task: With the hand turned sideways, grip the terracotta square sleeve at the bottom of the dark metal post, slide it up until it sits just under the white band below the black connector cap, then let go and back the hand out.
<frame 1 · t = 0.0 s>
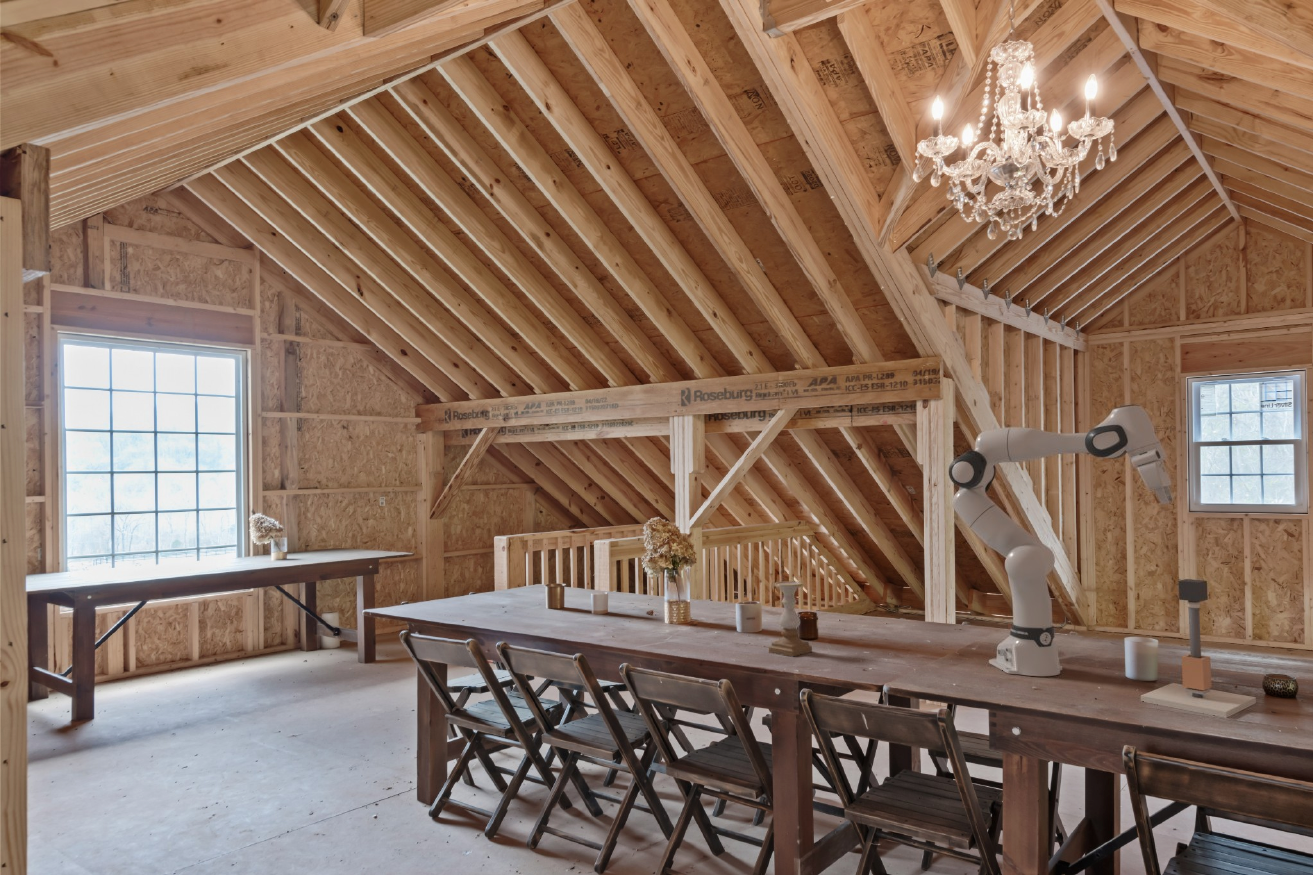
hand: (1168, 503, 239), 52 cm above the table, tool tilted 20°, fingers open, 8 cm apart
sleeve: (1196, 671, 224), point 8 cm above the table, slide at 0.0 cm
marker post: (1197, 702, 224), on the table
candle holder: (790, 652, 294), on the table
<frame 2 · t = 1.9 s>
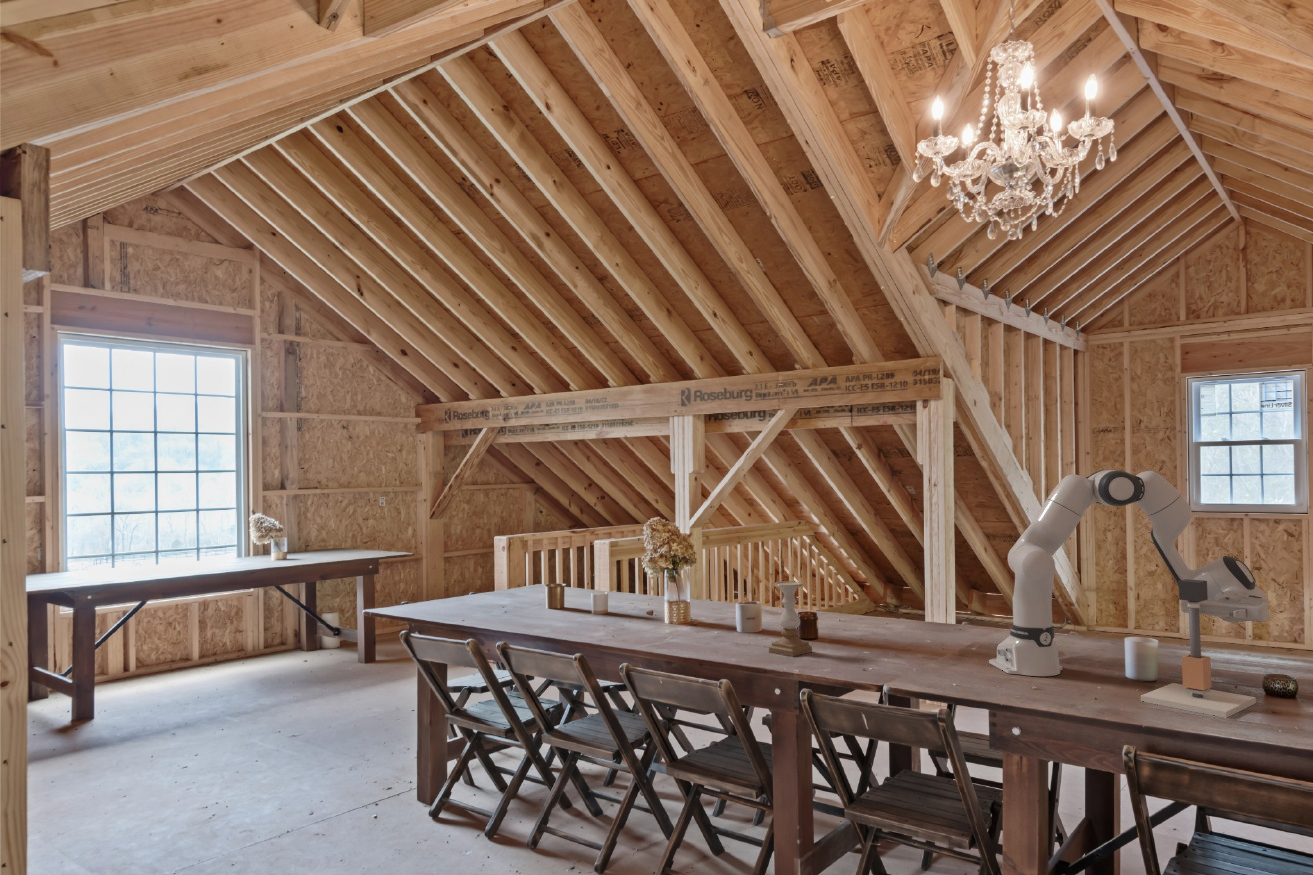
hand: (1212, 612, 232), 22 cm above the table, tool horizontal, fingers open, 8 cm apart
nothing on the table moved.
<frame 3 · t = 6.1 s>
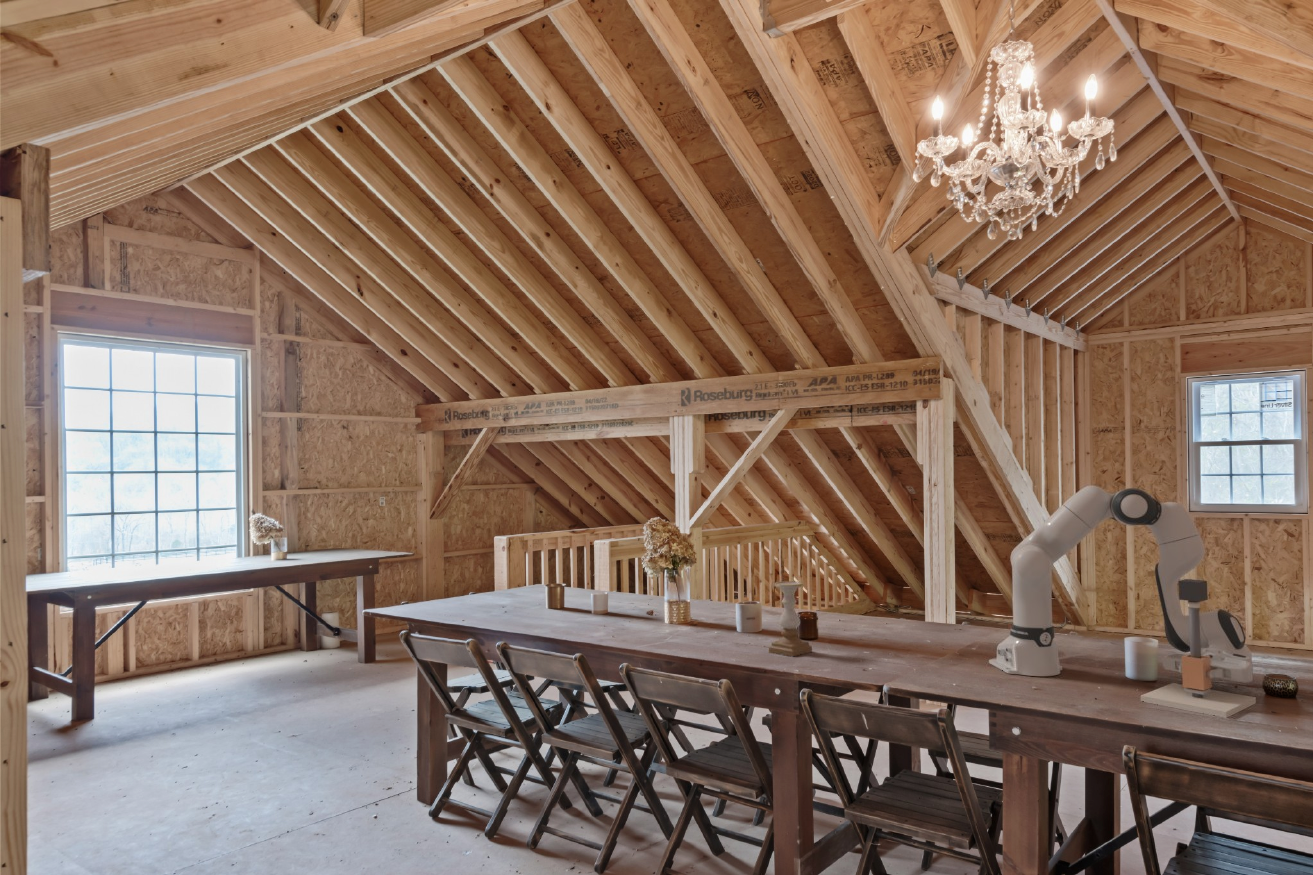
hand: (1195, 672, 223), 8 cm above the table, tool horizontal, fingers closed on sleeve, 5 cm apart
sleeve: (1196, 671, 224), point 8 cm above the table, slide at 0.0 cm, touching gripper
everything else where it was.
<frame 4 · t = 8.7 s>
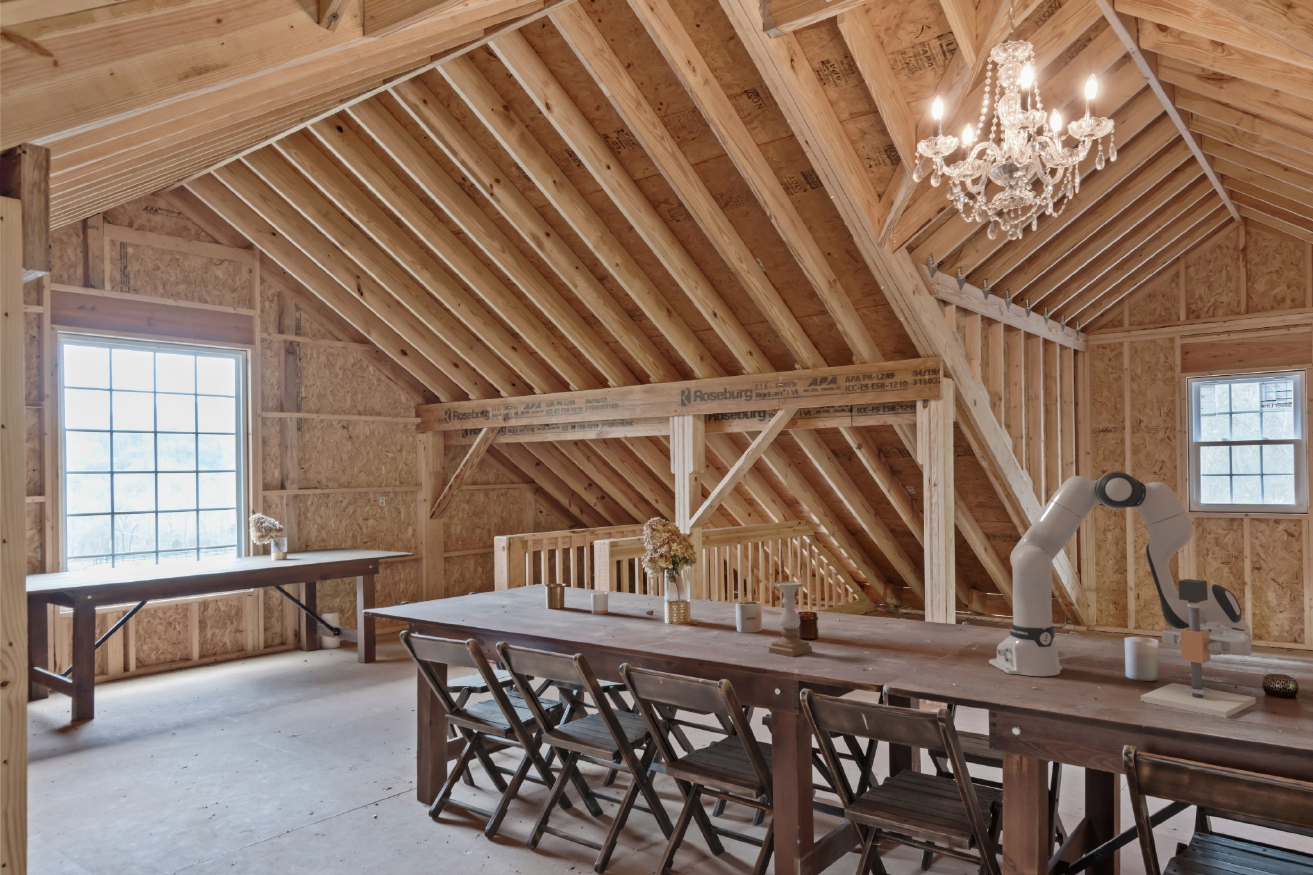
hand: (1193, 645, 224), 15 cm above the table, tool horizontal, fingers closed on sleeve, 5 cm apart
sleeve: (1195, 645, 224), point 15 cm above the table, slide at 7.0 cm, touching gripper
everything else where it was.
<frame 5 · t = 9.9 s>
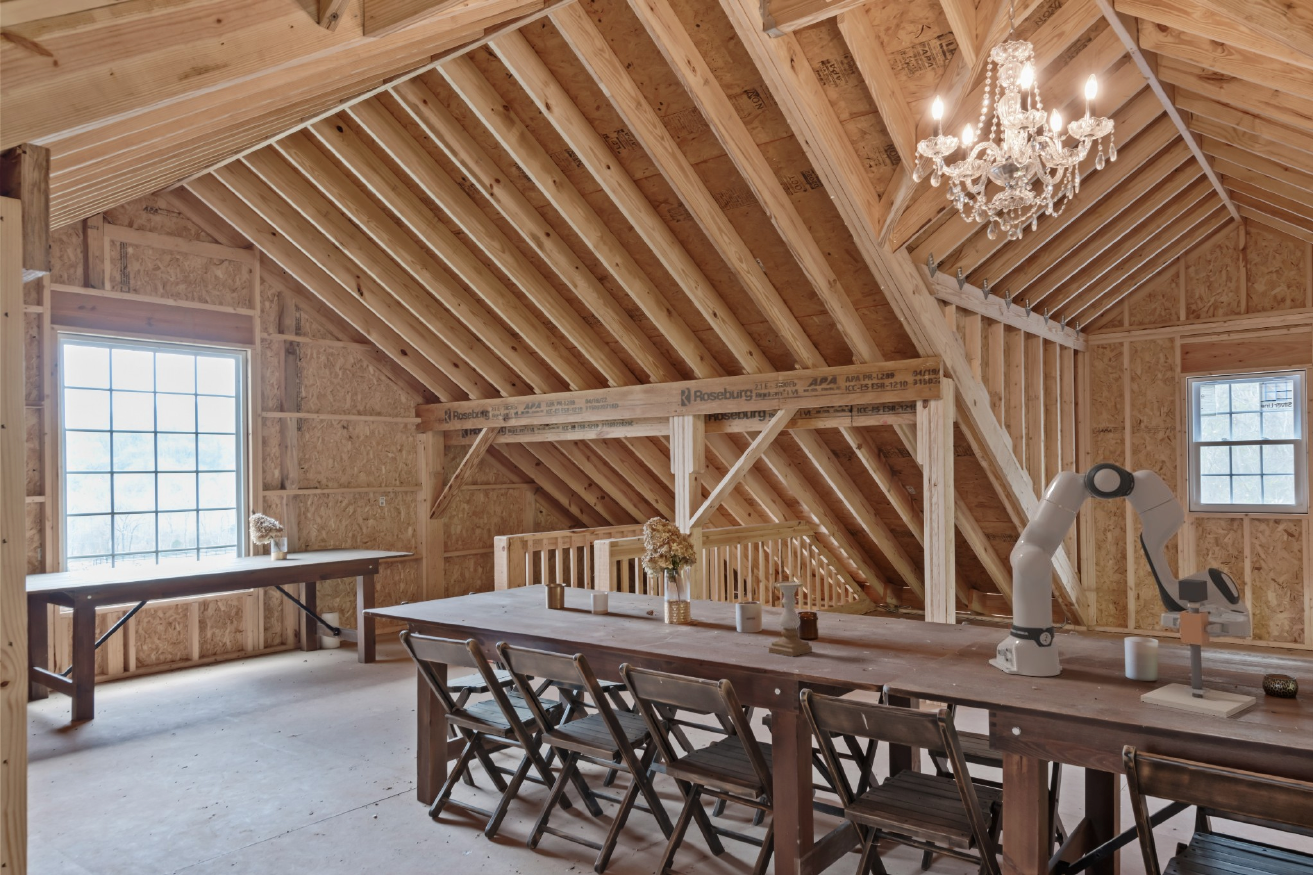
hand: (1193, 627, 224), 20 cm above the table, tool horizontal, fingers closed on sleeve, 5 cm apart
sleeve: (1194, 627, 224), point 20 cm above the table, slide at 11.7 cm, touching gripper
everything else where it was.
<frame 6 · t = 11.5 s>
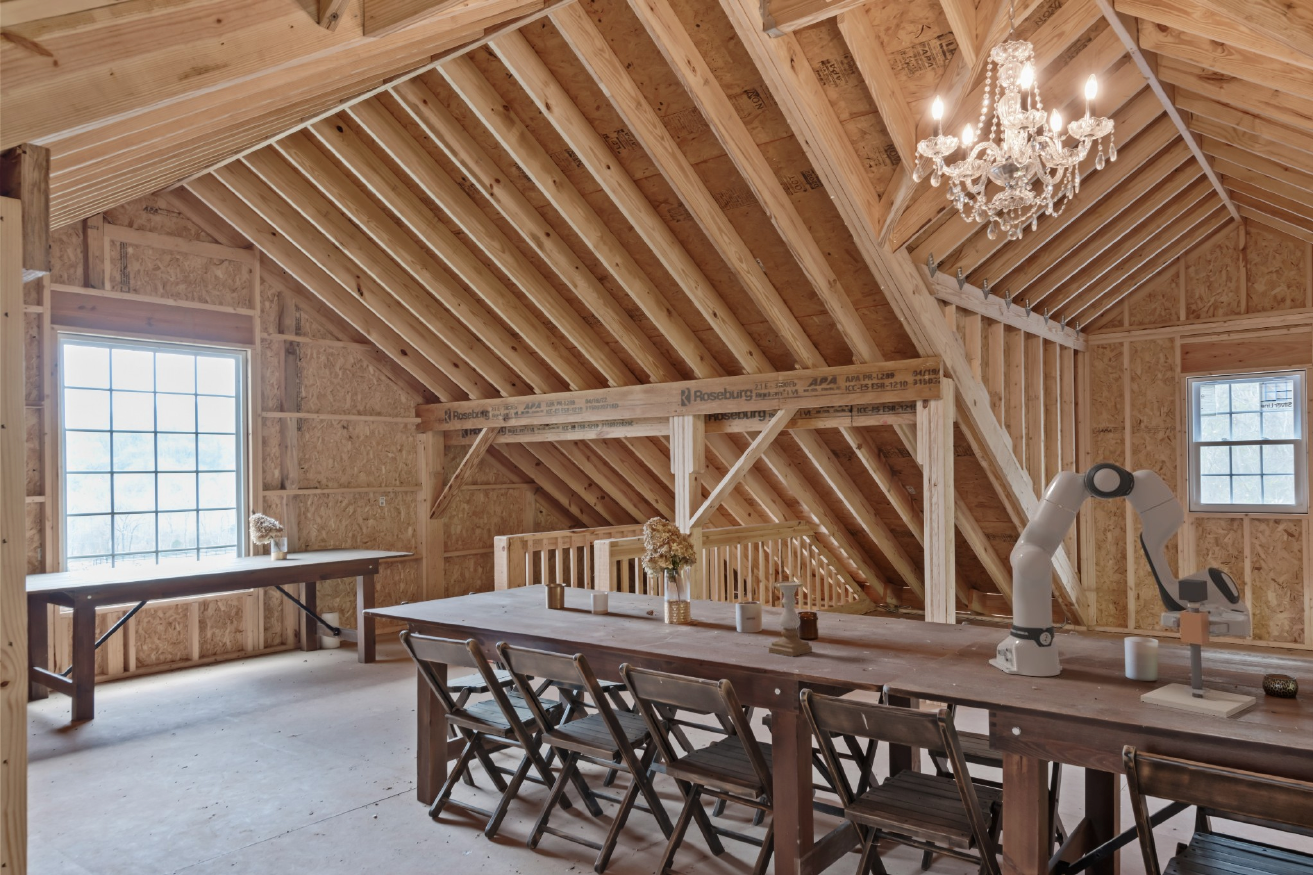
hand: (1193, 626, 224), 20 cm above the table, tool horizontal, fingers open, 8 cm apart
sleeve: (1194, 626, 224), point 20 cm above the table, slide at 11.8 cm
everything else where it was.
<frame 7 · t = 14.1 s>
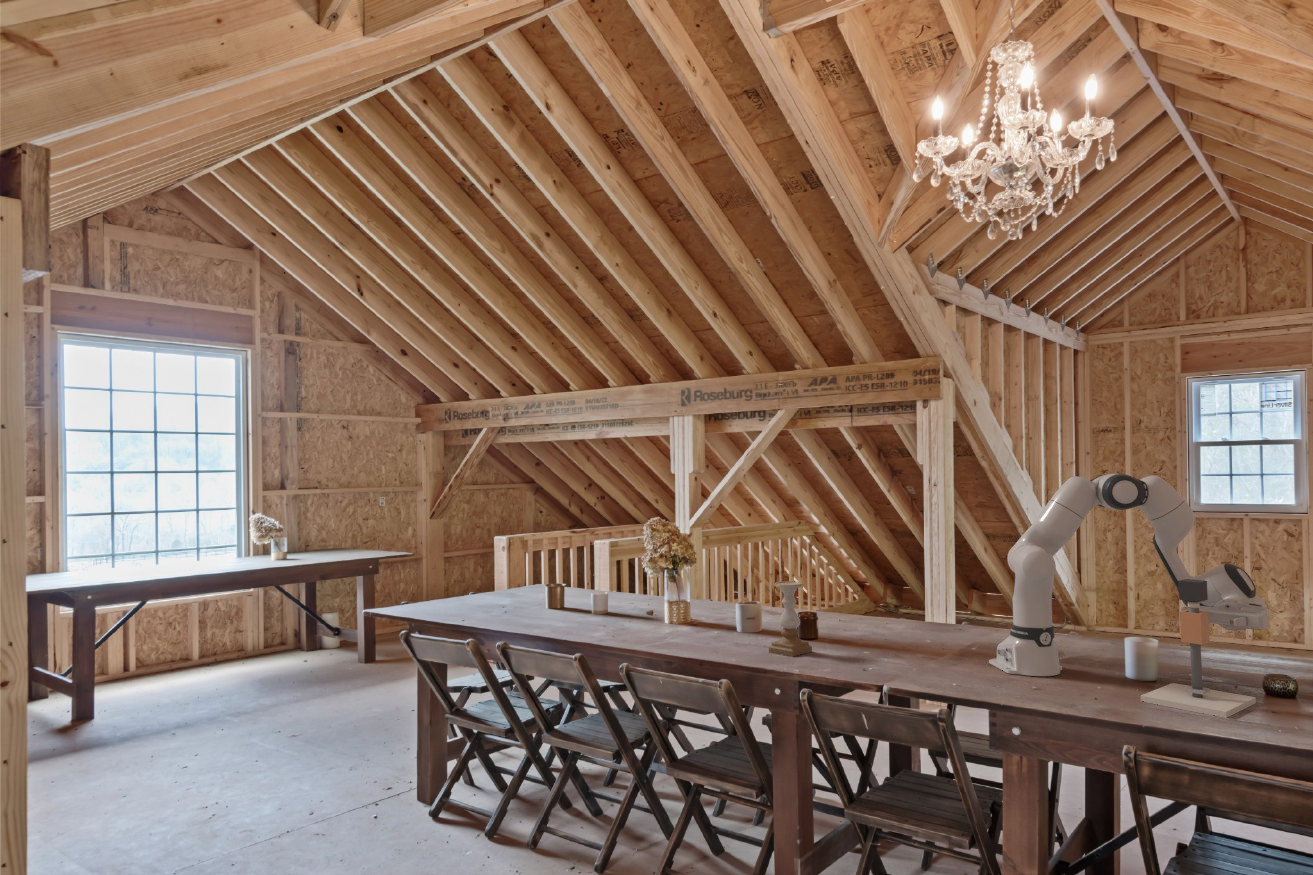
hand: (1212, 620, 231), 20 cm above the table, tool horizontal, fingers open, 8 cm apart
nothing on the table moved.
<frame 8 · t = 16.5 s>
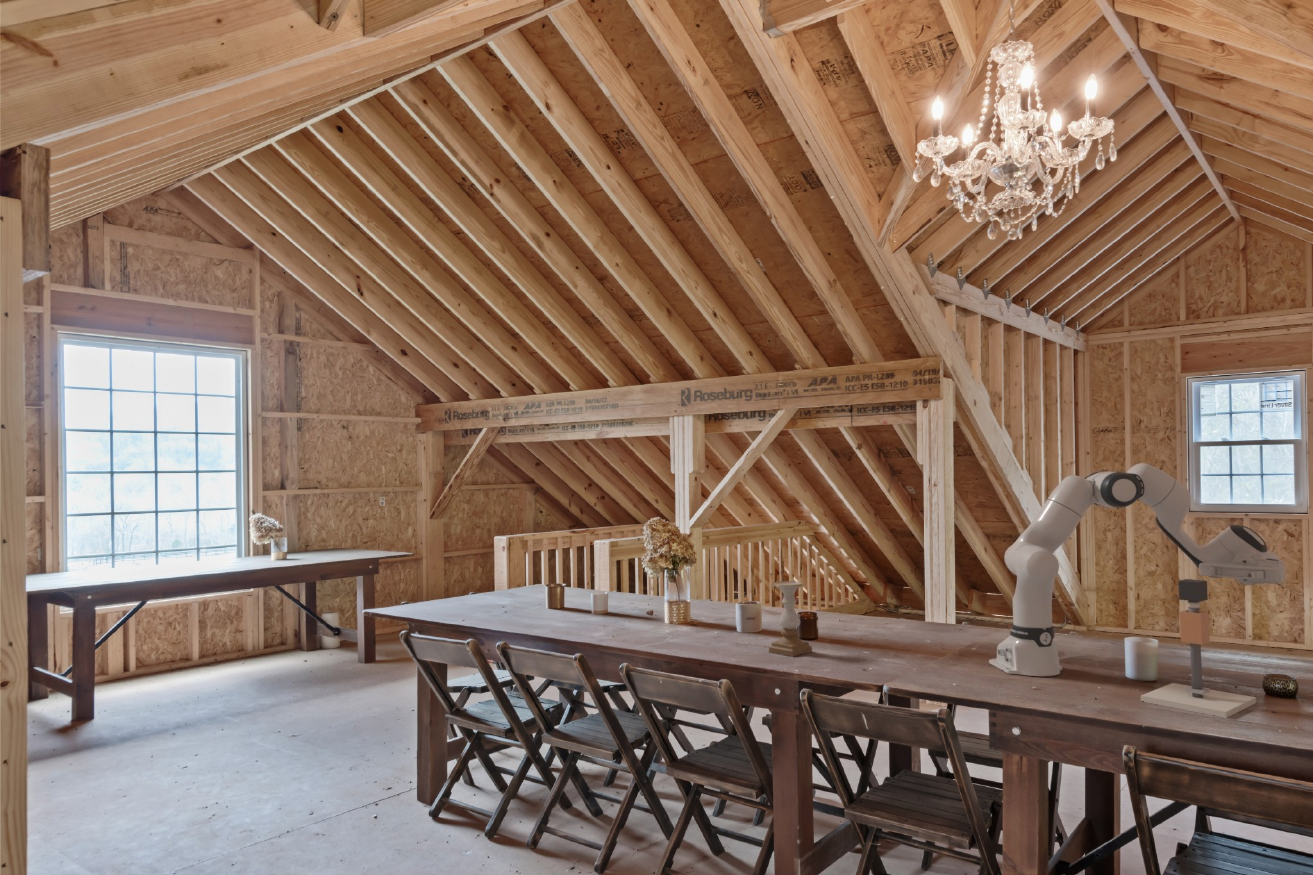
hand: (1230, 573, 236), 32 cm above the table, tool horizontal, fingers open, 8 cm apart
nothing on the table moved.
at the end: sleeve slide at 11.8 cm; the gripper is holding nothing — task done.
